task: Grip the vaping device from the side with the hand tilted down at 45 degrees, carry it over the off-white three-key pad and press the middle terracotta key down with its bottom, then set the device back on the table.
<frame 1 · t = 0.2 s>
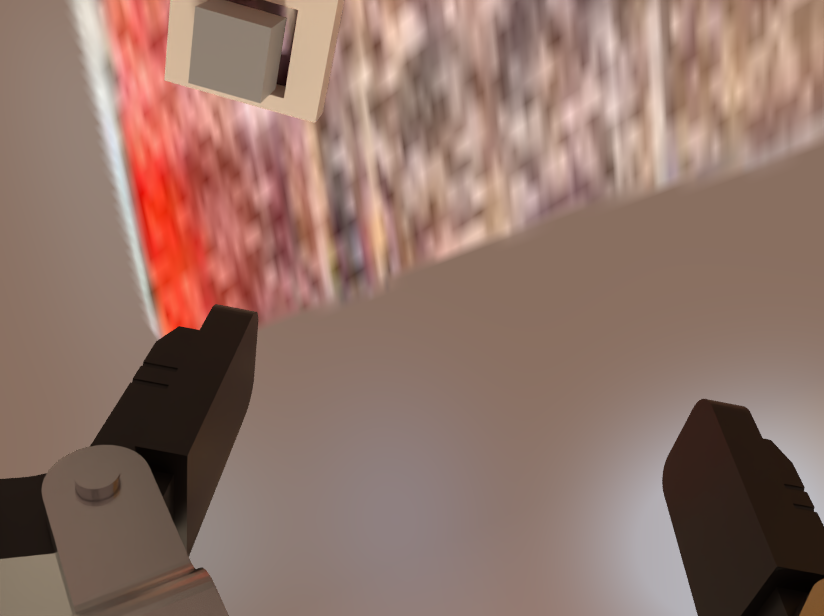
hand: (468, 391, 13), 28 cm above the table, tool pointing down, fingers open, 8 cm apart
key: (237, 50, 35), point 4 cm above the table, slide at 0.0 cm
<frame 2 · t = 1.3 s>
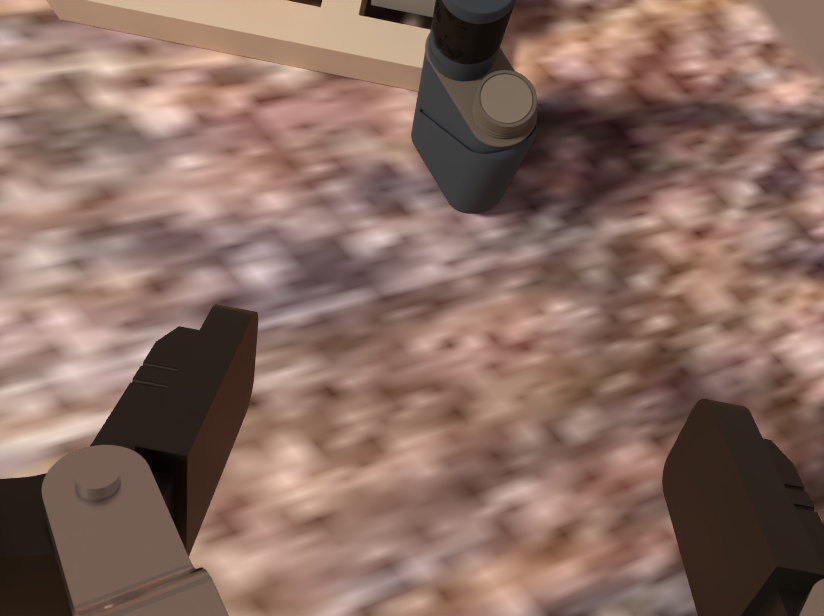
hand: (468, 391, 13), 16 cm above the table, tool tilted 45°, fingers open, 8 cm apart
vaping device: (454, 165, 32), on the table
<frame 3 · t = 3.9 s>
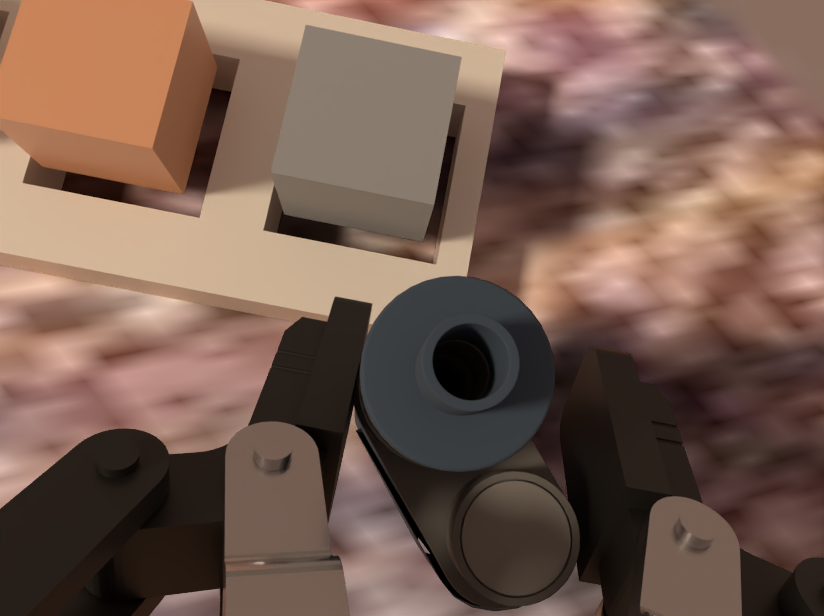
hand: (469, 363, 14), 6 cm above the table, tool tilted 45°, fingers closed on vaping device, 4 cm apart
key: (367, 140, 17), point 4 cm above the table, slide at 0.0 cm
keypad base: (155, 151, 20), on the table
vaping device: (425, 460, 19), on the table, touching gripper
key mid: (113, 88, 17), point 4 cm above the table, slide at 0.0 cm
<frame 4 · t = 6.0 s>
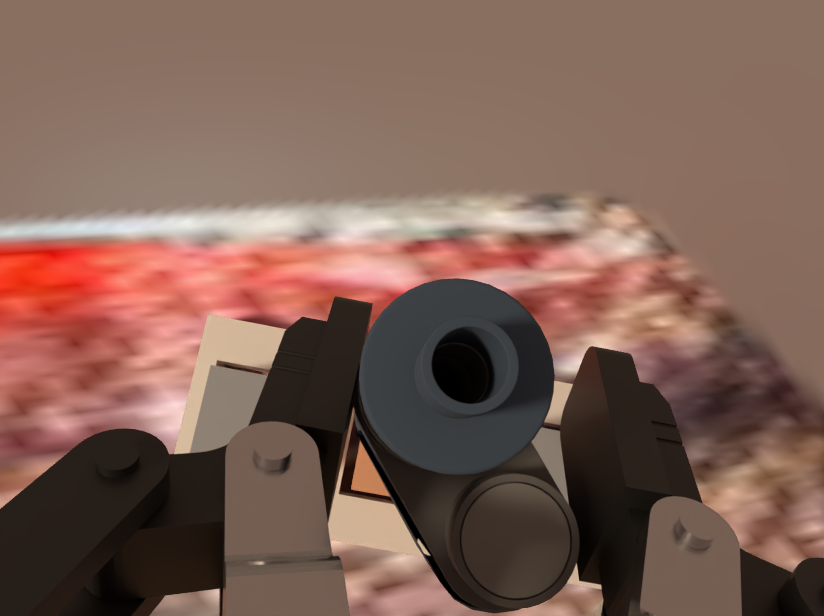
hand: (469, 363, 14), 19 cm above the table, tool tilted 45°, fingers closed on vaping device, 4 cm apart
keypad base: (399, 449, 32), on the table
vaping device: (425, 462, 19), point 13 cm above the table, touching gripper
key mid: (404, 449, 28), point 4 cm above the table, slide at 0.0 cm
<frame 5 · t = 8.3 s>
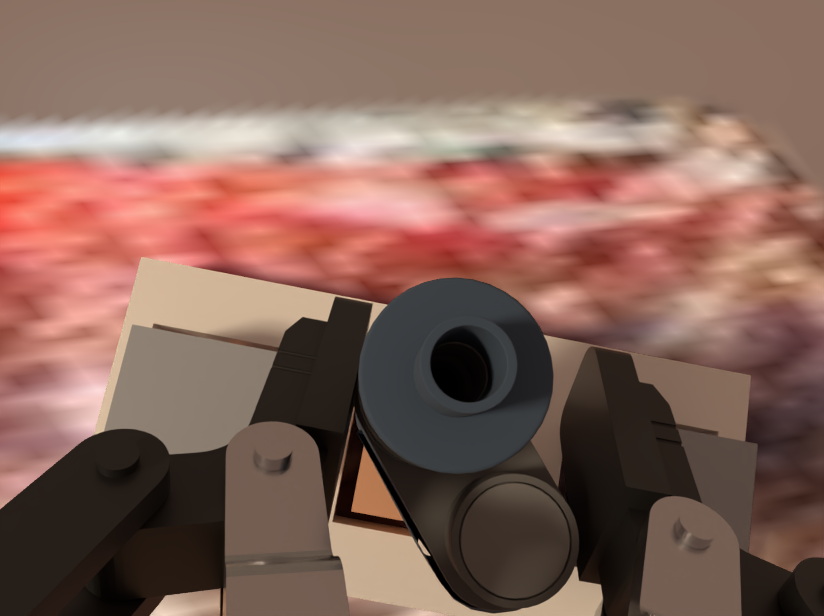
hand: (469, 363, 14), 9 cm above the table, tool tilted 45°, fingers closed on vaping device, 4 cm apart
keypad base: (420, 454, 22), on the table
vaping device: (426, 462, 19), point 3 cm above the table, touching gripper, key mid
key mid: (424, 455, 21), point 2 cm above the table, slide at 2.0 cm, touching vaping device
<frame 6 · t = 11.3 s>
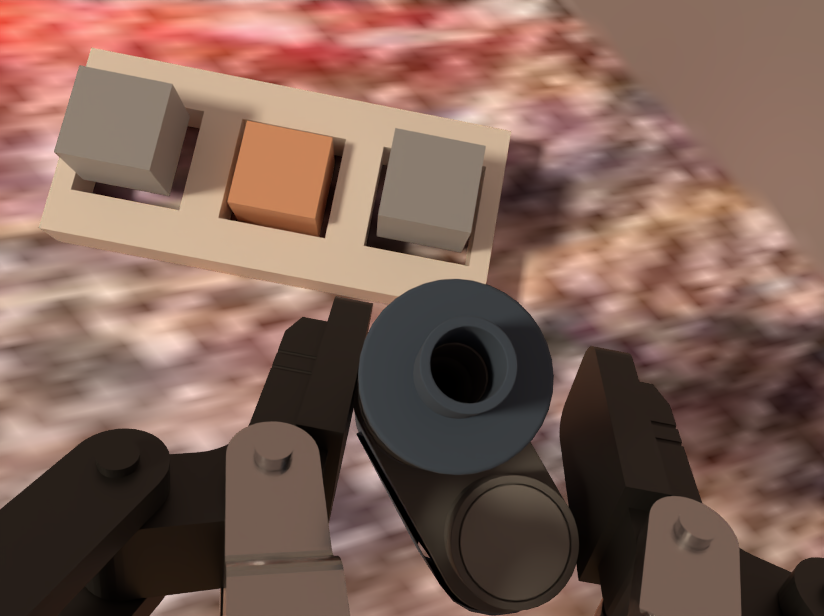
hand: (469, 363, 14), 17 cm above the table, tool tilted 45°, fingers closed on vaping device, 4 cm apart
keypad base: (288, 194, 32), on the table
vaping device: (426, 464, 19), point 11 cm above the table, touching gripper
key mid: (284, 181, 30), point 2 cm above the table, slide at 2.0 cm
when the fingers open (7 cm above the table, at t = 13.3 s): vaping device drops 1 cm, on the table.
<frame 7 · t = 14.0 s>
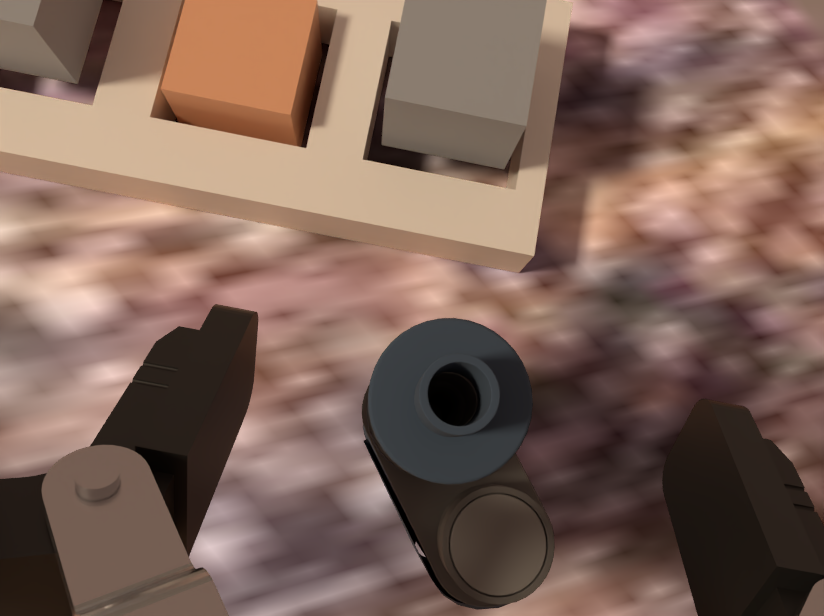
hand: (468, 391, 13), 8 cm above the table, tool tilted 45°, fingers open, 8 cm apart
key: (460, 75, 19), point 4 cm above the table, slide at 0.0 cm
keypad base: (255, 95, 23), on the table
vaping device: (426, 471, 21), on the table
key mid: (248, 69, 21), point 2 cm above the table, slide at 2.0 cm
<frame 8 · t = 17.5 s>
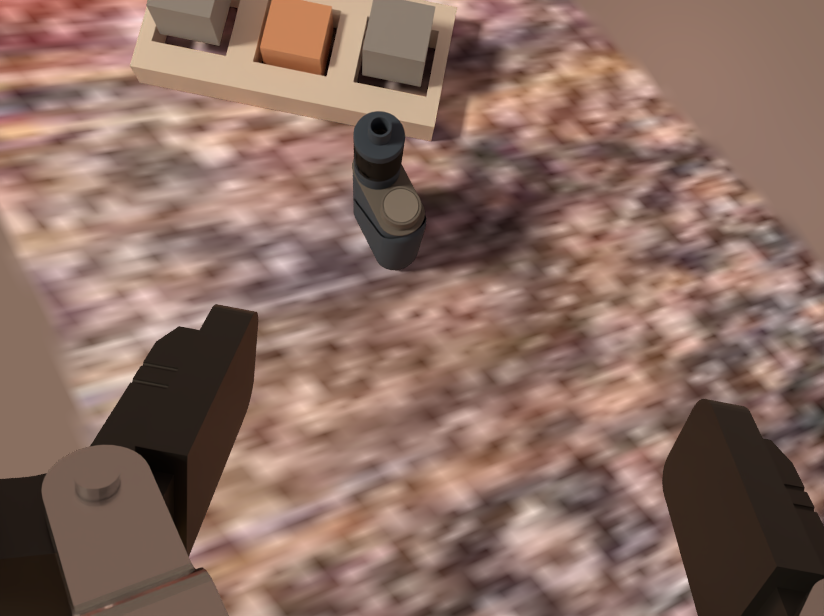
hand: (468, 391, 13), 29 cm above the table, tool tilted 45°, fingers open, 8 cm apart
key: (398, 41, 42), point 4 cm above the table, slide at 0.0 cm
keypad base: (300, 53, 45), on the table
vaping device: (384, 233, 44), on the table
key mid: (298, 40, 44), point 2 cm above the table, slide at 2.0 cm
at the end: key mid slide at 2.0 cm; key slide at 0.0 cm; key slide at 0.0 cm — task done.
